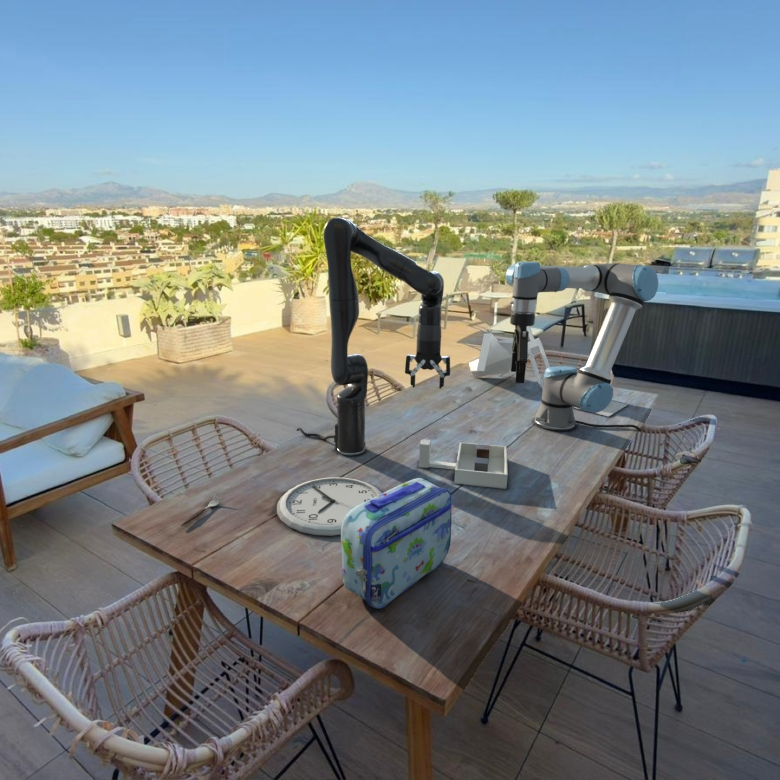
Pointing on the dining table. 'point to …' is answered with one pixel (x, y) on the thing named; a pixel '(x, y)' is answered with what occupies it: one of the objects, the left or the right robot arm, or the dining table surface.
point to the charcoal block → (481, 464)
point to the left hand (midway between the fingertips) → (426, 387)
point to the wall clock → (323, 504)
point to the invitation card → (610, 408)
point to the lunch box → (395, 540)
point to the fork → (211, 504)
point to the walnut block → (483, 451)
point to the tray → (471, 465)
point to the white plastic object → (504, 356)
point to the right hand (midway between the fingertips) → (517, 377)
